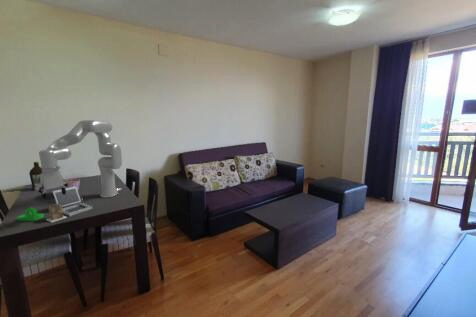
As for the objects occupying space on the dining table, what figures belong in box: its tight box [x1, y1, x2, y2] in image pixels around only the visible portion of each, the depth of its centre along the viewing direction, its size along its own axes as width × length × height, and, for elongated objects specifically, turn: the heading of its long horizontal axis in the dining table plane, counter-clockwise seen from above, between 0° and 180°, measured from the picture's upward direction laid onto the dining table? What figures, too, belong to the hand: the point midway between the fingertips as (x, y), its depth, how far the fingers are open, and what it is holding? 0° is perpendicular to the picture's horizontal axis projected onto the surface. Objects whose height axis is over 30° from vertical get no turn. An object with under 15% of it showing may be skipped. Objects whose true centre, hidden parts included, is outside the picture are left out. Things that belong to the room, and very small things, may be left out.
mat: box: [45, 214, 68, 224], centre depth 140 cm, size 8×7×1 cm
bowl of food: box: [51, 178, 81, 192], centre depth 184 cm, size 20×20×12 cm
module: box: [48, 203, 64, 220], centre depth 140 cm, size 5×5×9 cm
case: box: [52, 186, 93, 217], centre depth 154 cm, size 15×20×14 cm
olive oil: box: [29, 161, 42, 191], centre depth 198 cm, size 11×11×25 cm
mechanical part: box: [15, 207, 45, 222], centre depth 140 cm, size 12×6×8 cm, turn 87°
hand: (54, 196), depth 139 cm, fingers open, 9 cm apart
